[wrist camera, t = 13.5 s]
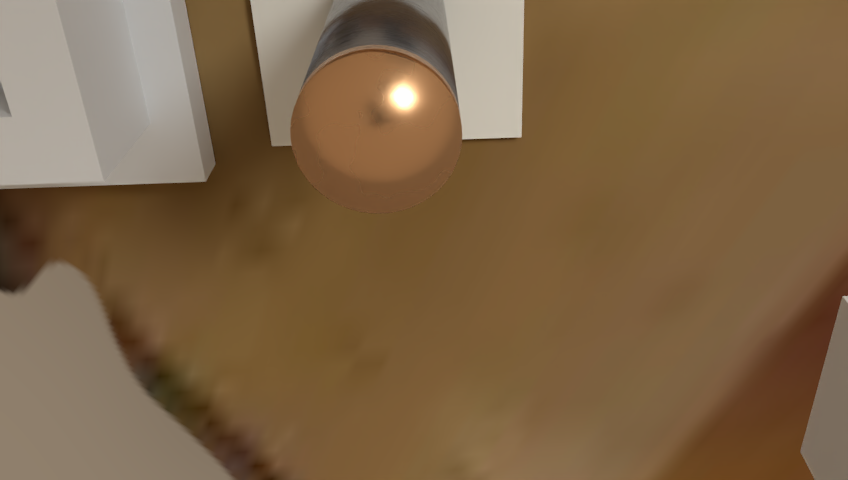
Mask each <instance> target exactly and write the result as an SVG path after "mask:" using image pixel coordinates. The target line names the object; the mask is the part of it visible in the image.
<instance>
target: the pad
mask: <svg viewBox="0 0 848 480" xmlns="http://www.w3.org/2000/svg"><path fill="white" fill-rule="evenodd" d="M250 2H251V9H252V16H253V22H254V29H255V36H256V43H257V49H258V56H259V63H260V70H261V76H262V83H263V90H264V97H265V103H266V110H267V117H268V124H269V130H270V137H271V144H272V146H292V145H291V137H290V126H291V118H292V113H293V109H294V106H295V104H296V101H297V98H298V95H299V93H300V90H301V87H302V84H303V82H304V79H305V76H306V74H307V71H308V68H309V65H310V63H311V60H312V57H313V54H314V52H315V49H316V46H317V44H318V41H319V38H320V35H321V33H322V30H323V27H324V24H325V22H326V19H327V16H328V14H329V11H330V8H331V5H332V3H333V0H250ZM444 5H445V11H446V18H447V25H448V32H449V39H450V46H451V54H452V61H453V68H454V75H455V82H456V89H457V96H458V103H459V110H460V117H461V124H462V139H486V138H513V137H521V134H522V83H523V31H524V0H444Z"/></svg>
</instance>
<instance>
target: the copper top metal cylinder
mask: <svg viewBox="0 0 848 480" xmlns="http://www.w3.org/2000/svg"><path fill="white" fill-rule="evenodd" d="M290 137H291V145H292V150H293V153H294V156H295V159H296V162H297V164H298V166H299V168H300V170H301V171H302V173H303V174H304V176H305V177H306V179H307V180H308V181H309V182H310V183H311V184H312V186H313V187H314V188H315V189H317V190H318V191H319V192H320V193H321V194H322V195H324V196H325V197H327V198H328V199H330V200H331V201H333V202H335V203H337V204H339V205H341V206H343V207H346V208H349V209H352V210H356V211H359V212H366V213H392V212H397V211H401V210H405V209H408V208H411V207H413V206H415V205H417V204H419V203H421V202H423V201H425V200H426V199H428V198H429V197H431V196H432V195H433V194H434V193H436V192H437V191H438V190H439V189H440V188H441V187H442V186H443V185H444V184H445V182H446V181H447V180H448V178H449V177H450V175H451V174H452V172H453V170H454V168H455V166H456V164H457V161H458V158H459V155H460V151H461V146H462V124H461V117H460V110H459V103H458V96H457V89H456V82H455V75H454V68H453V61H452V54H451V46H450V39H449V32H448V25H447V18H446V11H445V5H444V0H333V3H332V5H331V8H330V11H329V14H328V16H327V19H326V22H325V24H324V27H323V30H322V33H321V35H320V38H319V41H318V44H317V46H316V49H315V52H314V54H313V57H312V60H311V63H310V65H309V68H308V71H307V74H306V76H305V79H304V82H303V84H302V87H301V90H300V93H299V95H298V98H297V101H296V104H295V106H294V109H293V113H292V118H291V126H290Z"/></svg>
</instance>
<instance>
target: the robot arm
mask: <svg viewBox="0 0 848 480" xmlns="http://www.w3.org/2000/svg"><path fill="white" fill-rule="evenodd" d="M801 454H802V456H803V458H804V460H805V462H806V463H807V465H808V467H809V469H810V471H811V473H812V475H813V477H814V479H815V480H848V296H842V300H841V304H840V307H839V311H838V315H837V318H836V322H835V326H834V329H833V333H832V337H831V341H830V344H829V348H828V352H827V355H826V359H825V363H824V366H823V370H822V374H821V378H820V381H819V385H818V389H817V392H816V396H815V400H814V403H813V407H812V411H811V415H810V418H809V422H808V426H807V429H806V433H805V437H804V440H803V444H802V448H801Z"/></svg>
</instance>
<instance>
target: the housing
mask: <svg viewBox="0 0 848 480" xmlns="http://www.w3.org/2000/svg"><path fill="white" fill-rule="evenodd" d="M215 164H216V163H215V158H214V153H213V147H212V142H211V137H210V132H209V126H208V121H207V116H206V110H205V105H204V100H203V94H202V89H201V84H200V78H199V73H198V68H197V63H196V57H195V52H194V47H193V41H192V36H191V31H190V25H189V20H188V15H187V9H186V4H185V0H0V189H14V188H43V187H71V186H99V185H128V184H156V183H184V182H206V181H207V179H208V177H209V175H210V173H211V171H212V170H213V168H214V166H215Z"/></svg>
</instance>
